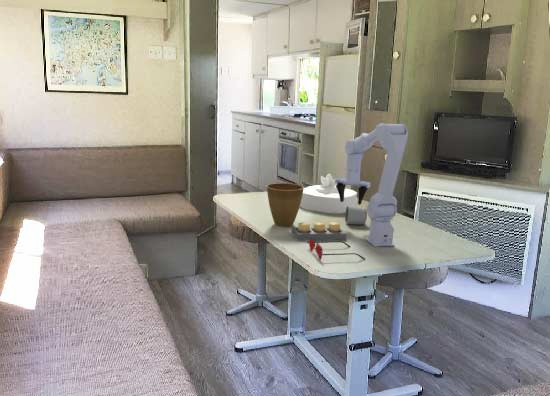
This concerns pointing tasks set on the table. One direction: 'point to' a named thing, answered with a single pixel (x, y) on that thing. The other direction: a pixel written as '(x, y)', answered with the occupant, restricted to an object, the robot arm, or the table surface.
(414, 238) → the table surface
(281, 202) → the plant pot
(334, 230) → the tan rounded lump
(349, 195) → the white decorated cake
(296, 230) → the board
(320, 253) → the glasses
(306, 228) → the pale orange rounded lump
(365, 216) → the ceramic mug
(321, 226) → the tan rounded lump
